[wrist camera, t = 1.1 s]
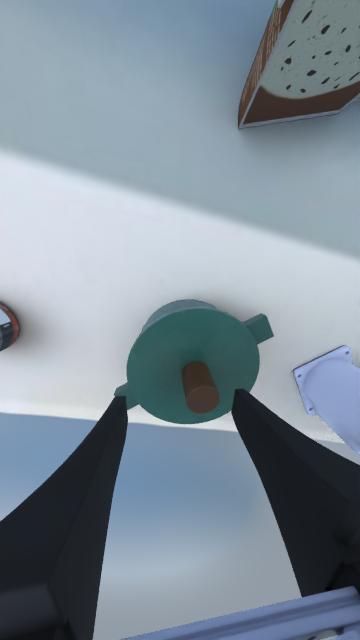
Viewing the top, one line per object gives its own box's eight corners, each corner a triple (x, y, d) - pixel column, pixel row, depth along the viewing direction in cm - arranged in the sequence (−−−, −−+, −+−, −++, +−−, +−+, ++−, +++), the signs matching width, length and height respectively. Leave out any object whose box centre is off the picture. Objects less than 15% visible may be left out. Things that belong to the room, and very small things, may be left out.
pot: (262, 349, 23) (291, 374, 18) (151, 404, 24) (148, 443, 19) (230, 269, 19) (255, 272, 14) (101, 339, 20) (81, 365, 15)
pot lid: (269, 383, 19) (300, 418, 15) (168, 432, 20) (170, 479, 15) (225, 279, 15) (251, 286, 11) (101, 346, 16) (78, 378, 11)
